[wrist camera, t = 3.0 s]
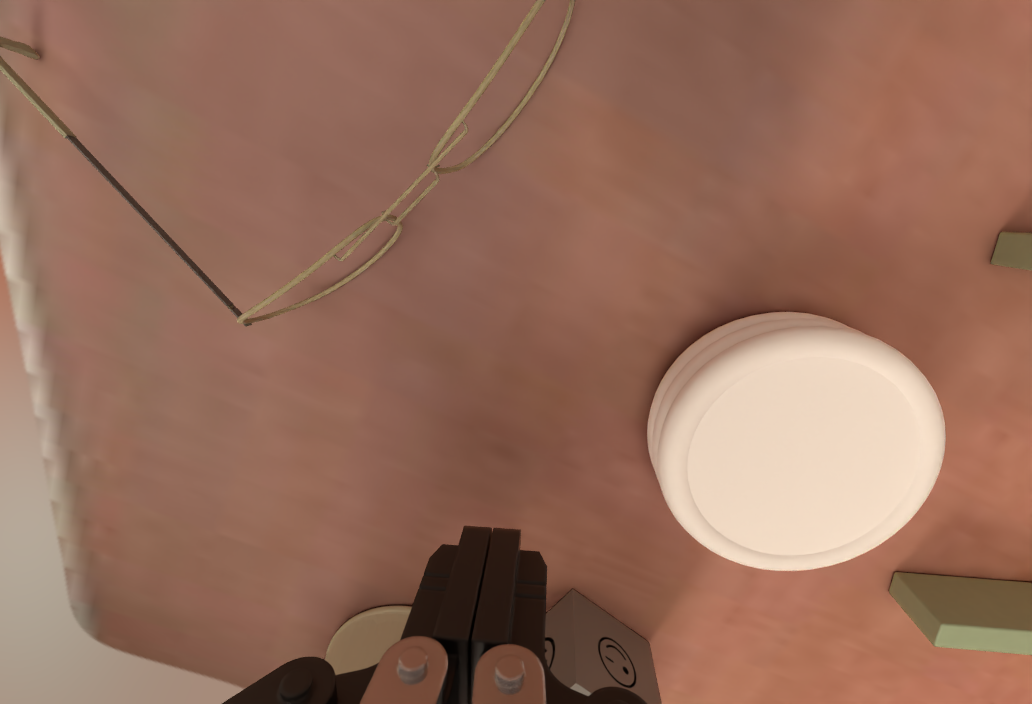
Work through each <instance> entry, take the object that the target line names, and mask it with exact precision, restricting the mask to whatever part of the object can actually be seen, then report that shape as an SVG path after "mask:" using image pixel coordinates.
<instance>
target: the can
mask: <svg viewBox="0 0 1032 704" xmlns="http://www.w3.org/2000/svg"><path fill="white" fill-rule="evenodd" d="M411 608H412V607H410V606H385V607H379V608H374V609H370V610H368V611H365V612H362V613H360V614H358V615H356V616H354V617H353V618H351V619H350V620H348V621H347V622H346V623H344V624H343V625H342V626H341V627H340V629H339V630H338V631H337V632H336V633H335V635H334V636H333V638H332V640H331V642H330V644H329V647H328V650H327V653H326V657H325V660H326V661H327V662H328V663H329V664H330V665H331V666H332V667H333V669H334V672H335V675H338V674H342V673H347V672H352V671H357V670H361V669H365V668H368V667H370V666H373V665H375V664H377V663H379V662H380V659H381V658H382V656H383V654H384V653H385V652H386V651H387V649H389V648H390V647H391V646H392V645H393V644H395V643H396V642H398V641H400V639H401V636H402V633H403V630H404V628H405V625H406V622H407V619H408V617H409V614H410V611H411Z"/></svg>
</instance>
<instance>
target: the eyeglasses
mask: <svg viewBox="0 0 1032 704" xmlns="http://www.w3.org/2000/svg"><path fill="white" fill-rule="evenodd" d="M544 2H545V0H537V1H536V2H535V4H534V5H533V7H532V8H531V10H530V11H529V13H528V14H527V16H526V18H525V19H524V21H523V22H522V24H521V25H520V27H519V28H518V30H517V31H516V33H515V34H514V36H513V38H512V39H511V41H510V42H509V44H508V45H507V47H506V48H505V50H504V51H503V53H502V54H501V56H500V57H499V59H498V60H497V62H496V63H495V64H494V66H493V67H492V69H491V70H490V72H489V73H488V75H487V76H486V78H485V79H484V80H483V82H482V83H481V85H480V86H479V88H478V89H477V90H476V92H475V93H474V95H473V96H472V97H471V99H470V100H469V101H468V103H467V104H466V105H465V107H464V108H463V110H462V111H461V112H460V114H459V115H458V116H457V118H456V119H455V121H454V122H453V123H452V125H451V126H450V127H449V129H448V130H447V132H446V133H445V134H444V136H443V137H442V138H441V140H440V141H439V143H438V144H437V146H436V148H435V149H434V151H433V153H432V155H431V157H430V160H429V165H427V166H428V168H427V169H426V170H425V171H424V172H423V173H422V174H421V176H420V177H419V178H418V179H417V180H416V181H415V182H414V183H413V184H412V185H411V186H410V187H409V188H408V189H407V190H406V191H405V192H404V193H403V194H402V195H401V196H400V197H399V198H398V199H397V200H396V201H395V202H394V204H393V205H392V206H391V207H390V208H389V209H388V210H386V211H385V212H382V216H378V217H376V218H374V219H372V220H370V221H369V222H367V223H365V224H364V225H362V226H361V227H359V228H358V229H357V230H355V231H354V232H353V233H352V234H350V235H349V236H348V237H346V238H345V239H344V240H343V241H341V242H340V243H339V244H338V245H336V246H335V247H334V248H333V249H332V250H330V251H329V252H328V253H327V254H325V255H324V256H323V257H322V258H320V259H319V260H318V261H317V262H315V263H314V264H313V265H312V266H310V267H309V268H308V269H307V270H305V271H304V272H303V273H301V274H300V275H298V276H297V277H296V278H294V279H293V280H292V281H290V282H289V283H287V284H286V285H285V286H283V287H282V288H280V289H279V290H278V291H276V292H275V293H273V294H272V295H271V296H269V297H268V298H266V299H265V300H263V301H262V302H260V303H259V304H257V305H256V306H254V307H253V308H251V309H250V310H248V311H247V312H245V313H244V314H242V313H241V312H240V311H239V309H238V308H236V307H235V306H234V305H233V303H232V302H231V301H230V300H229V299H228V298H227V297H226V296H225V295H224V294H223V293H222V292H221V290H220V289H219V288H218V287H217V286H216V285H215V284H214V283H213V282H212V281H211V280H210V279H209V278H208V277H207V276H206V275H205V274H204V273H203V271H202V270H201V269H200V268H199V267H198V266H197V265H196V264H195V263H194V262H193V261H192V260H191V259H190V258H189V257H188V256H187V255H186V254H185V252H184V251H183V250H182V249H181V248H180V247H179V246H178V245H177V244H176V243H175V242H174V241H173V240H172V239H171V238H170V237H169V236H168V234H167V233H166V232H165V231H164V230H163V229H162V228H161V227H160V226H159V225H158V224H157V223H156V222H155V221H154V220H153V219H152V218H151V217H150V215H149V214H148V213H147V212H146V211H145V210H144V209H143V208H142V207H141V206H140V205H139V204H138V203H137V202H136V201H135V200H134V199H133V198H132V196H131V195H130V194H129V193H128V192H127V191H126V190H125V189H124V188H123V187H122V186H121V185H120V184H119V183H118V182H117V181H116V180H115V178H114V177H113V176H112V175H111V174H110V173H109V172H108V171H107V170H106V169H105V168H104V167H103V166H102V165H101V164H100V163H99V162H98V161H97V159H96V158H95V157H94V156H93V155H92V154H91V153H90V152H89V151H88V150H87V149H86V148H85V147H84V146H83V145H82V144H81V143H80V142H79V140H78V139H77V138H76V136H75V135H74V134H73V133H72V132H71V131H70V129H69V128H68V127H67V126H66V125H65V124H64V123H63V122H62V121H61V120H60V119H59V118H58V117H57V116H56V115H55V114H54V113H53V112H52V110H51V109H50V108H49V107H48V106H47V105H46V104H45V103H44V102H43V101H42V100H41V99H40V98H39V97H38V96H37V95H36V94H35V93H34V91H33V90H32V89H31V88H30V87H29V86H28V85H27V84H26V83H25V82H24V81H23V80H22V79H21V78H20V77H19V76H18V75H17V74H16V72H15V71H14V70H13V69H12V68H11V67H10V66H9V65H8V64H7V63H6V62H5V61H4V60H3V59H2V58H1V57H0V70H1V71H2V72H3V73H4V74H5V75H6V77H7V78H8V79H9V80H10V81H11V82H12V83H13V84H14V85H15V86H16V87H17V88H18V89H19V90H20V91H21V92H22V93H23V95H24V96H25V97H26V98H27V99H28V100H29V101H30V102H31V103H32V104H33V105H34V106H35V107H36V108H37V109H38V110H39V111H40V112H41V114H42V115H43V116H44V117H45V118H46V119H47V120H48V121H49V122H50V123H51V124H52V125H53V126H54V127H55V128H56V129H57V130H58V131H59V133H60V134H61V135H62V136H63V137H64V138H67V139H68V140H69V141H70V142H71V143H72V144H73V145H74V146H75V147H76V148H77V149H78V150H79V151H80V152H81V153H82V154H83V155H84V157H85V158H86V159H87V160H88V161H89V162H90V163H91V164H92V165H93V166H94V167H95V168H96V169H97V170H98V171H99V172H100V173H101V174H102V176H103V177H104V178H105V179H106V180H107V181H108V182H109V183H110V184H111V185H112V186H113V187H114V188H115V189H116V190H117V191H118V192H119V193H120V194H121V196H122V197H123V198H124V199H125V200H126V201H127V202H128V203H129V204H130V205H131V206H132V207H133V208H134V209H135V210H136V211H137V212H138V213H139V214H140V216H141V217H142V218H143V219H144V220H145V221H146V222H147V223H148V224H149V225H150V226H151V227H152V228H153V229H154V230H155V231H156V232H157V233H158V235H159V236H160V237H161V238H162V239H163V240H164V241H165V242H166V243H167V244H168V245H169V246H170V247H171V248H172V249H173V250H174V251H175V252H176V253H177V255H178V256H179V257H180V258H181V259H182V260H183V261H184V262H185V263H186V264H187V265H188V266H189V267H190V268H191V269H192V270H193V271H194V272H195V273H196V275H197V276H198V277H199V278H200V279H201V280H202V281H203V282H204V283H205V284H206V285H207V286H208V287H209V288H210V289H211V290H212V291H213V292H214V294H215V295H216V296H217V297H218V298H219V299H220V300H221V301H222V302H223V303H224V304H225V305H226V306H227V307H228V308H229V309H230V310H231V311H232V312H233V314H234V315H235V316H236V317H237V318H238V319H237V322H238V323H240V324H244V325H245V326H249V325H252V324H251V323H253V322H258V321H262V320H265V319H269V318H271V317H274V316H277V315H280V314H283V313H285V312H288V311H291V310H293V309H296V308H298V307H301V306H303V305H305V304H308V303H310V302H312V301H315V300H317V299H319V298H321V297H323V296H325V295H327V294H329V293H331V292H332V291H334V290H336V289H338V288H339V287H341V286H342V285H344V284H345V283H347V282H349V281H350V280H352V279H353V278H354V277H356V276H357V275H359V274H360V273H362V272H363V271H364V270H366V269H367V268H368V267H369V266H370V265H372V264H373V263H374V262H375V261H376V260H378V259H379V258H380V257H381V256H382V255H383V254H384V253H385V252H386V251H387V250H388V249H389V248H390V247H391V246H392V245H393V243H394V242H395V241H396V240H397V238H398V237H399V235H400V234H401V232H402V229H403V225H402V223H401V220H402V219H403V218H404V217H405V216H406V215H407V214H408V213H409V212H410V211H411V210H412V209H413V208H414V207H415V206H416V205H417V204H418V203H419V202H420V201H421V200H422V199H423V198H424V197H425V196H426V195H427V194H428V192H429V191H430V190H431V189H432V188H433V187H434V186H435V185H436V184H437V183H438V182H439V175H438V174H445V173H451V172H455V171H458V170H461V169H463V168H464V167H466V166H468V165H469V164H470V163H472V162H473V161H474V160H476V159H477V158H478V157H479V156H481V155H482V154H483V153H484V152H485V151H486V150H487V149H488V148H489V147H490V146H491V145H492V144H493V143H494V142H495V141H496V140H497V139H498V138H499V137H500V136H501V135H502V134H503V132H504V131H505V130H506V129H507V128H508V127H509V125H510V124H511V123H512V122H513V120H514V119H515V118H516V117H517V115H518V114H519V113H520V112H521V110H522V109H523V107H524V106H525V105H526V103H527V102H528V101H529V99H530V98H531V96H532V95H533V93H534V92H535V90H536V89H537V87H538V85H539V84H540V82H541V81H542V79H543V78H544V76H545V74H546V73H547V71H548V69H549V67H550V66H551V64H552V62H553V60H554V58H555V56H556V54H557V52H558V50H559V47H560V45H561V43H562V40H563V38H564V35H565V33H566V30H567V28H568V25H569V22H570V19H571V16H572V12H573V9H574V4H575V0H570V3H569V8H568V12H567V15H566V18H565V21H564V24H563V27H562V29H561V32H560V35H559V37H558V39H557V41H556V44H555V46H554V48H553V50H552V53H551V54H550V56H549V58H548V60H547V62H546V64H545V66H544V68H543V69H542V71H541V73H540V74H539V76H538V78H537V79H536V81H535V82H534V84H533V85H532V87H531V88H530V90H529V91H528V93H527V94H526V96H525V97H524V99H523V100H522V102H521V103H520V104H519V106H518V107H517V108H516V110H515V111H514V112H513V114H512V115H511V116H510V117H509V119H508V120H507V121H506V122H505V123H504V124H503V126H502V127H501V128H500V129H499V130H498V131H497V132H496V133H495V135H494V136H493V137H492V138H491V139H490V140H489V141H488V142H487V143H486V144H485V145H484V146H483V147H482V148H480V149H479V150H478V151H477V152H476V153H475V154H474V155H472V156H471V157H469V158H468V159H467V160H465V161H464V162H462V163H460V164H459V165H455V166H452V167H447V168H437V167H439V165H438V166H436V165H437V164H438V163H439V162H440V161H441V160H442V159H443V158H444V157H445V156H446V155H447V154H448V152H449V151H450V150H451V149H452V148H453V147H454V146H455V145H456V144H457V143H458V142H459V141H460V140H461V139H462V138H463V137H464V136H465V135H466V134H467V133H468V127H467V125H466V123H465V122H464V118H465V117H466V116H467V114H468V113H469V112H470V110H471V109H472V108H473V106H474V105H475V104H476V102H477V101H478V99H479V98H480V97H481V95H482V94H483V93H484V91H485V90H486V88H487V87H488V85H489V84H490V82H491V81H492V80H493V78H494V77H495V75H496V74H497V72H498V71H499V70H500V68H501V67H502V65H503V64H504V62H505V61H506V59H507V58H508V57H509V55H510V53H511V52H512V50H513V49H514V47H515V46H516V44H517V43H518V41H519V40H520V38H521V37H522V35H523V34H524V32H525V31H526V29H527V28H528V26H529V24H530V23H531V21H532V20H533V18H534V17H535V15H536V14H537V12H538V11H539V9H540V8H541V6H542V5H543V3H544ZM0 47H3V48H5V49H8V50H10V51H14V52H17V53H20V54H22V55H24V56H27V57H30V58H33V59H39V58H40V56H39V55H38V54H37V53H36V51H35V50H34V49H32V48H31V47H30V46H28V45H26V44H24V43H21V42H15V41H12V40H9V39H6V38H3V37H0ZM461 122H462V123H463V124H464V127H465V130H464V131H463V132H462V133H461V134H460V135H459V136H458V137H457V138H456V139H455V140H454V141H453V142H452V143H451V144H450V145H449V146H448V148H447V149H446V150H445V151H444V152H443V153H442V154H441V155H440V156H439V157H438V155H439V154H440V152H441V150H442V149H443V147H444V146H445V144H446V143H447V141H448V140H449V139H450V137H451V136H452V135H453V133H454V132H455V130H456V129H457V128H458V126H459V125H460V124H461ZM437 157H438V158H437ZM430 171H432V172H433V173H435V175H436V179H435V180H434V181H433V182H432V183H431V184H430V185H429V186H428V187H427V189H426V190H425V191H424V192H423V193H422V194H421V195H420V196H419V197H418V198H417V199H416V200H415V201H414V202H413V203H412V204H411V205H410V206H409V207H408V208H407V209H406V210H405V211H404V212H403V213H402V214H401V215H400V216H399V217H398V218H397V217H396V216H393V215H388V214H389V213H390V212H391V211H392V210H393V209H394V208H395V207H396V206H397V205H398V204H399V203H400V202H401V201H402V200H403V199H404V198H405V197H406V196H407V195H408V194H409V193H410V192H411V191H412V190H413V189H414V188H415V187H416V186H417V185H418V183H419V182H420V181H421V180H422V179H423V178H424V177H425V176H426V175H427V174H428V173H429V172H430ZM383 213H384V214H383ZM389 220H391V221H394V222H391V221H389ZM382 221H387V222H388V223H390V224H391V225H397V226H398V228H397V230H396V232H395V234H394V235H393V237H392V238H391V239H390V241H389V242H388V243H387V244H386V245H385V246H384V247H383V248H382V249H381V250H380V251H379V252H378V253H377V254H376V255H375V256H374V257H373V258H372V259H370V260H369V261H368V262H367V263H365V264H364V265H363V266H362V267H361V268H359V269H358V270H356V271H355V272H354V273H352V274H351V275H349V276H348V277H346V278H345V279H343V280H342V281H340V282H339V283H337V284H335V285H334V286H332V287H331V288H329V289H327V290H325V291H323V292H321V293H319V294H317V295H315V296H313V297H311V298H309V299H306V300H304V301H302V302H299V303H297V304H294V305H292V306H289V307H287V308H284V309H281V310H278V311H276V312H273V313H269V314H266V315H263V316H259V317H255V318H250V319H247V318H248V317H250V316H251V315H253V314H254V313H256V312H257V311H259V310H260V309H262V308H263V307H265V306H266V305H268V304H269V303H271V302H272V301H274V300H275V299H277V298H278V297H280V296H281V295H283V294H284V293H285V292H287V291H288V290H290V289H291V288H292V287H294V286H295V285H297V284H298V283H299V282H301V281H302V280H303V279H305V278H306V277H307V276H309V275H310V274H311V273H313V272H314V271H315V270H317V269H318V268H319V267H320V266H322V265H323V264H324V263H325V262H326V261H328V260H329V259H330V258H331V257H333V256H334V257H335V258H336V259H337V260H339V261H344V260H345V259H346V258H347V257H348V256H349V255H350V254H351V253H352V252H353V251H354V250H355V249H356V248H357V246H358V245H359V244H360V243H361V242H362V241H363V240H364V239H365V238H366V237H367V236H368V235H369V234H370V233H371V232H372V231H373V230H374V229H375V228H376V227H377V226H378V225H379V224H380V223H381V222H382ZM367 229H368V230H367ZM366 230H367V231H366ZM364 231H366V233H365V234H364V235H363V236H362V237H361V238H360V239H359V240H358V241H357V242H356V243H355V244H354V245H353V246H352V247H351V248H350V249H349V250H348V251H347V252H346V253H345V254H344V255H343V256H342V257H341V258H338V257H337V256H336V255H335V254H336V253H338V252H339V251H340V250H341V249H343V248H344V247H345V246H346V245H348V244H349V243H350V242H351V241H353V240H354V239H355V238H356V237H358V236H359V235H360V234H362V233H363V232H364ZM235 308H236V309H235Z"/></svg>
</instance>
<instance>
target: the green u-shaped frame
mask: <svg viewBox="0 0 1032 704" xmlns="http://www.w3.org/2000/svg"><path fill="white" fill-rule="evenodd" d="M991 264H993V265H999V266H1006V267H1012V268H1019V269H1026V270H1032V233H1030V232H1001V233H1000V234H999V238H998V241H997V244H996V247H995V251H994V254H993V257H992V260H991ZM889 593H890V594H891V596H892V597H893V598H894V599H895V600H896V602H897V603H898V604H899V605H900V606H901V608H902V609H903V610H904V611H905V612H906V613H907V615H908V616H909V617H910V618H911V619H912V621H913V622H914V623H915V624H916V625H917V627H918V628H919V629H920V630H921V631H922V632H923V634H924V635H925V636H926V637H927V638H928V640H929V641H930V642H931V643H932V644H933V645H934V646H935V647H945V648H956V649H968V650H979V651H990V652H1002V653H1013V654H1024V655H1032V583H1030V582H1017V581H1004V580H992V579H979V578H966V577H953V576H941V575H928V574H915V573H902V572H895V573H894V576H893V580H892V583H891V586H890V589H889Z"/></svg>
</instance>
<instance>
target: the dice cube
mask: <svg viewBox="0 0 1032 704" xmlns="http://www.w3.org/2000/svg"><path fill="white" fill-rule="evenodd" d="M545 658H546V662H547V665H548V667H549V669H550V670H551V672H552V674H553V675H554V676H555V677H556V678H557V679H558V680H559V681H560V682H561V683H563V684H564V685H565V686H567V687H569V688H571V689H573V690H575V691H577V692H579V693H582V694H584V695H586V696H589V695H590V694H592V693H593V692H594V691H596V690H598V689H600V688H604V687H620V688H624V689H627V690H630V691H631V692H633V693H635V694H637V695H638V696H639V697H641V698H642V699H643V700H644V701H645V702H646V703H647V704H662V703H661V698H660V693H659V688H658V683H657V678H656V673H655V668H654V664H653V659H652V654H651V649H650V644H649V642H648V641H646V640H645V639H643V638H642V637H641V636H639V635H638V634H636V633H635V632H633V631H632V630H631V629H629V628H628V627H626V626H625V625H624V624H622V623H621V622H619V621H618V620H616V619H615V618H614V617H612V616H611V615H609V614H608V613H606V612H605V611H604V610H602V609H601V608H599V607H598V606H597V605H595V604H594V603H592V602H591V601H589V600H588V599H587V598H585V597H584V596H582V595H581V594H579V593H578V592H577V591H575V590H574V589H572V590H571V591H570V592H569V593H568V594H567V595H566V596H565V597H563V598H562V599H561V600H560V601H559V602H558V603H557V604H556V605H555V606H554V607H553V608H552V609H551V610H550V611H549V612H548V613H547V614H546V622H545Z"/></svg>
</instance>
